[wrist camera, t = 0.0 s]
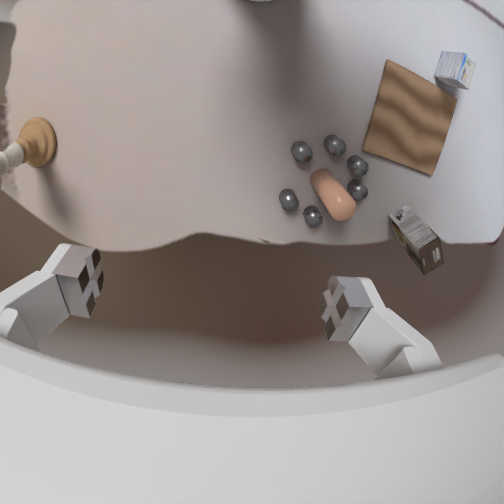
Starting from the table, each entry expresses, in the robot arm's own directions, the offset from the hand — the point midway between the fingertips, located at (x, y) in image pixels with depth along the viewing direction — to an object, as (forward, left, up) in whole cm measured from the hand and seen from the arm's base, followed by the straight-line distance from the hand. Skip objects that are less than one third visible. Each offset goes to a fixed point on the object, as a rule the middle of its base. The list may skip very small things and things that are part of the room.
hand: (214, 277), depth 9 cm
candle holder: (+9, -45, -48) cm, 66 cm away
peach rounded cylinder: (+11, +22, -48) cm, 54 cm away
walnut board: (-9, +40, -48) cm, 63 cm away
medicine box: (-26, +45, -48) cm, 71 cm away
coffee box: (+17, +48, -48) cm, 70 cm away
